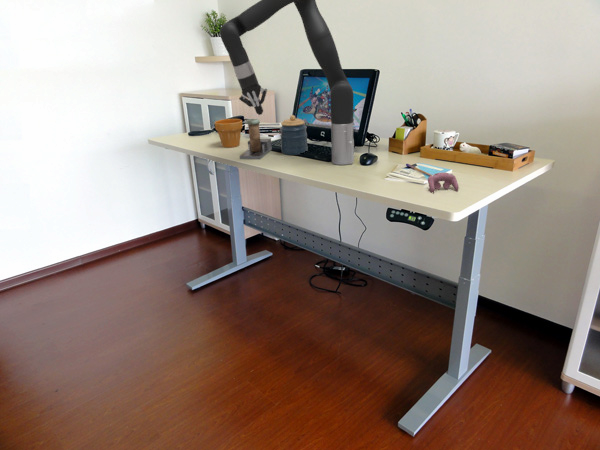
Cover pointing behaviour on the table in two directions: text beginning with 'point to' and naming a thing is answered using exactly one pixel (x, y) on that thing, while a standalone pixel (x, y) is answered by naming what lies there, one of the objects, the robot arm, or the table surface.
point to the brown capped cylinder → (254, 134)
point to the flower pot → (229, 132)
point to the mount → (258, 155)
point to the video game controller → (438, 177)
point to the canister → (293, 136)
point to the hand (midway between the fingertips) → (260, 113)
